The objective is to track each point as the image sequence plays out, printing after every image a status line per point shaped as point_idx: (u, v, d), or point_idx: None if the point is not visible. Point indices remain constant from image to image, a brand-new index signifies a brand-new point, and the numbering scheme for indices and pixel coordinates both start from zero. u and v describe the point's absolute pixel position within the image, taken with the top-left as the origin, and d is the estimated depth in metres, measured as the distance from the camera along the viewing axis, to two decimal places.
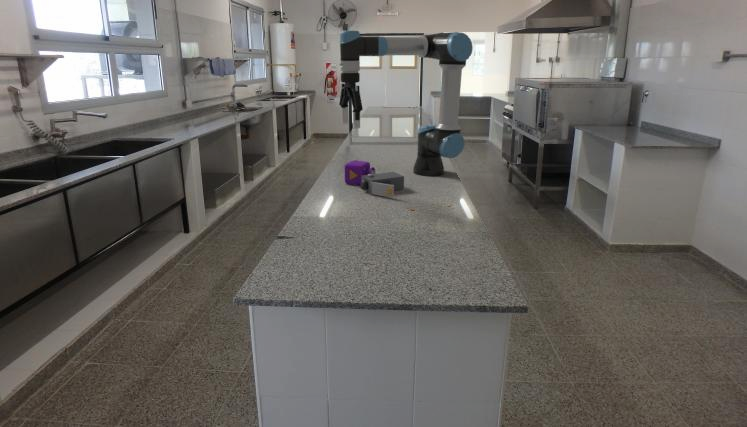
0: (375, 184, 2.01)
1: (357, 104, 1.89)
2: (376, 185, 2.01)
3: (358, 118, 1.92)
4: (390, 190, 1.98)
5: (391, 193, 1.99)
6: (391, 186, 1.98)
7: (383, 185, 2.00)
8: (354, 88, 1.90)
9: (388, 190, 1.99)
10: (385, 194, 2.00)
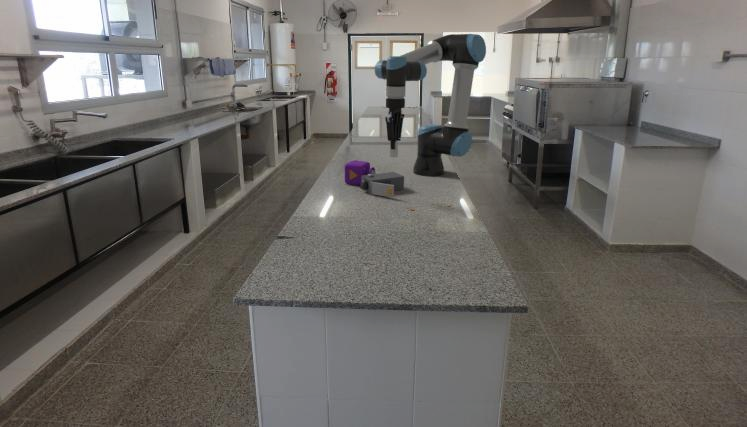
0: (375, 184, 2.01)
1: (388, 135, 1.93)
2: (376, 185, 2.01)
3: (392, 147, 1.96)
4: (390, 190, 1.98)
5: (391, 193, 1.99)
6: (391, 186, 1.98)
7: (383, 185, 2.00)
8: (386, 120, 1.90)
9: (388, 190, 1.99)
10: (385, 194, 2.00)
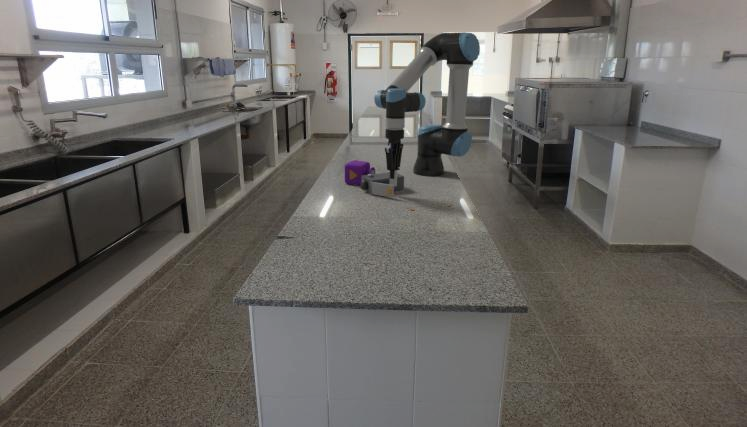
0: (375, 184, 2.01)
1: (388, 165, 1.97)
2: (376, 185, 2.01)
3: (391, 177, 2.00)
4: (390, 190, 1.98)
5: (391, 193, 1.99)
6: (391, 186, 1.98)
7: (383, 185, 2.00)
8: (385, 150, 1.93)
9: (388, 190, 1.99)
10: (385, 194, 2.00)
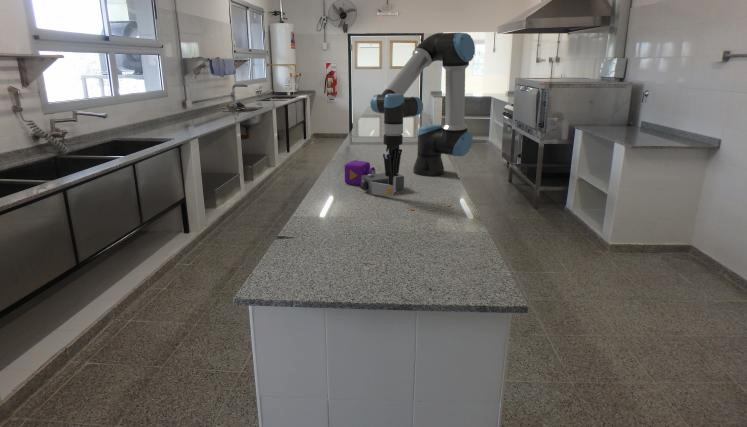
0: (375, 184, 2.01)
1: (386, 171, 1.94)
2: (376, 185, 2.01)
3: (390, 183, 1.97)
4: (390, 190, 1.98)
5: (391, 193, 1.98)
6: (391, 186, 1.98)
7: (383, 185, 2.00)
8: (384, 157, 1.91)
9: (388, 190, 1.98)
10: (385, 194, 2.00)
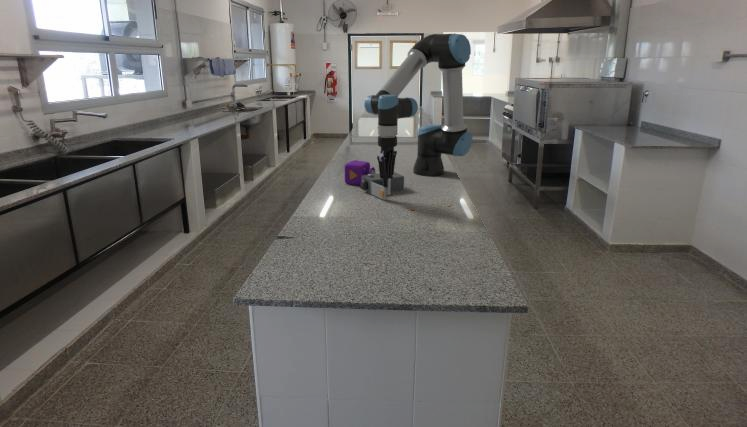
0: (373, 184, 2.01)
1: (381, 173, 1.91)
2: (373, 185, 2.01)
3: (385, 185, 1.94)
4: (382, 192, 1.95)
5: (382, 195, 1.95)
6: (383, 188, 1.95)
7: (378, 186, 1.98)
8: (378, 159, 1.88)
9: (380, 192, 1.96)
10: (379, 196, 1.98)
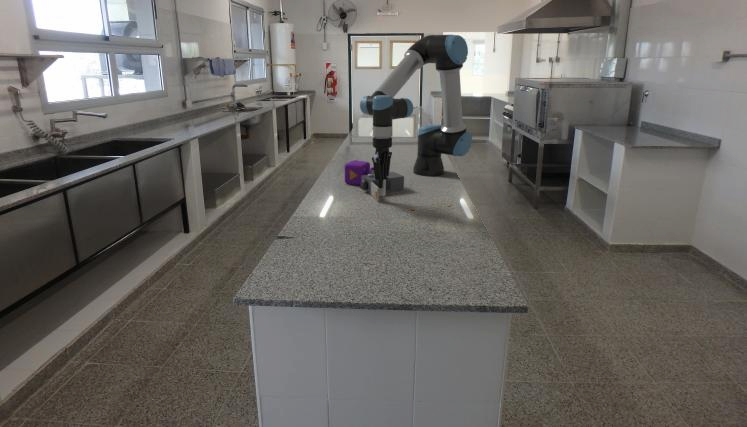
0: (372, 184, 2.01)
1: (375, 174, 1.90)
2: (372, 185, 2.00)
3: (380, 186, 1.93)
4: (375, 193, 1.94)
5: (376, 196, 1.95)
6: (376, 189, 1.94)
7: (374, 187, 1.97)
8: (373, 160, 1.86)
9: (374, 192, 1.95)
10: (374, 196, 1.98)
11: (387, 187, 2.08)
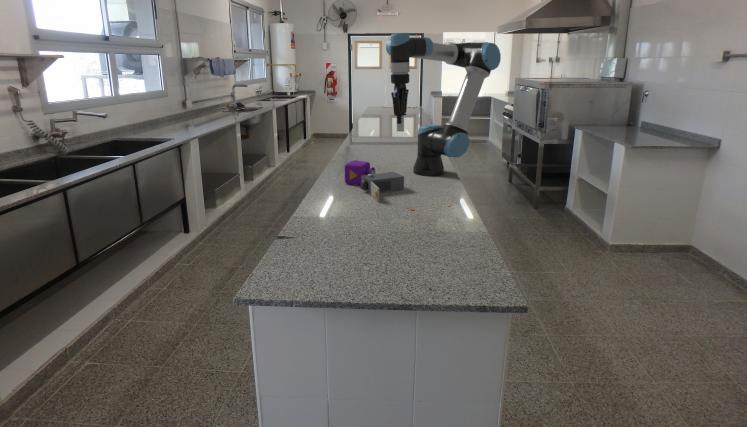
0: (372, 184, 2.01)
1: (395, 110, 2.01)
2: (372, 185, 2.00)
3: (399, 122, 2.04)
4: (375, 193, 1.94)
5: (376, 196, 1.95)
6: (376, 189, 1.94)
7: (374, 187, 1.97)
8: (392, 95, 1.97)
9: (374, 192, 1.95)
10: (374, 196, 1.98)
11: (387, 187, 2.08)
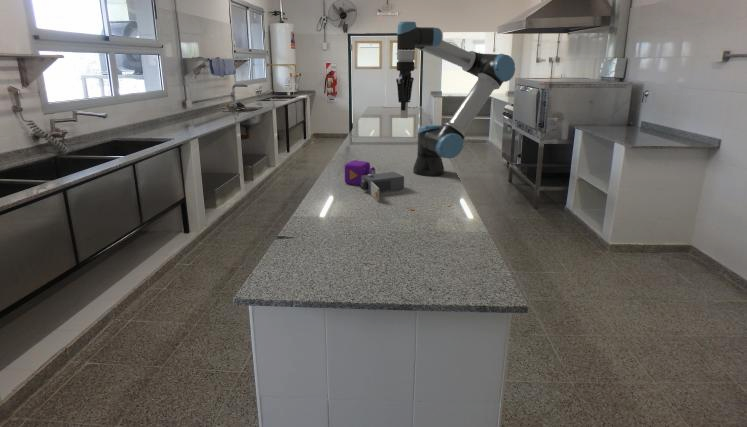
0: (372, 184, 2.01)
1: (399, 96, 2.07)
2: (372, 185, 2.00)
3: (402, 108, 2.10)
4: (375, 193, 1.94)
5: (376, 196, 1.95)
6: (376, 189, 1.94)
7: (374, 187, 1.97)
8: (397, 81, 2.03)
9: (374, 192, 1.95)
10: (374, 196, 1.98)
11: (387, 187, 2.08)
